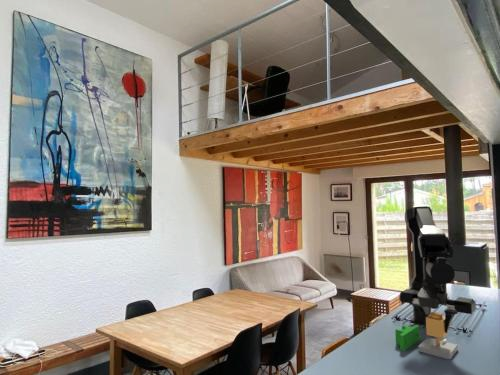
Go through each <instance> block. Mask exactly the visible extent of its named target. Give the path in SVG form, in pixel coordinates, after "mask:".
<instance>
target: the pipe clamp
mask: <svg viewBox="0 0 500 375" xmlns="http://www.w3.org/2000/svg"><path fill="white" fill-rule="evenodd" d="M394 333H395V344H396V346H399V350H400V351H403V352H405V351H406V350H408V349H409V348H410V347H412V346H413V345H415V344H416V343H418V342H419V341H420V340H421V336H420V333H421V332H420V325H418V324H414V325H413V326H407V325H401V329H398V328H396V329H395V331H394Z"/></svg>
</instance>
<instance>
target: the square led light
mask: <svg viewBox="0 0 500 375" xmlns="http://www.w3.org/2000/svg"><path fill="white" fill-rule="evenodd" d="M425 328H426V329H425V330H426V335H427V336H431V337H439V338H441V339H443V340H444V339H446V337H447V336H448V335H449V331H448V332H447V333H445V316H444V315H443V313H441V312H436V311H433V312H432V311H431V314H430V315H429V316H427V317H426V325H425Z"/></svg>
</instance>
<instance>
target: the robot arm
mask: <svg viewBox="0 0 500 375" xmlns="http://www.w3.org/2000/svg"><path fill="white" fill-rule="evenodd" d="M404 221H405V223H406V227H407V228H408V230H409V232H410V233H411V234H412V235H411V237H412V256H413V272H414V275H413V277H412V278H411V279H410V281H409V287H408V288H406V289H404V290H402V291H401V292H400V293H399V298H398V299H399V302H402V303H407V304H409V305H410V306H411V305H412V310H413V311H412V313H413V314H412V316H413V317H412V318H410V320H409V321H410V322H411V323H417V324H421V325H424V326H426V317H427V316H429V315H430V314H431V312H432V309H433V310H436V309H438V308H439V305H442V306H446V309H445V310H444V315H445V333H447V332H448V333H449V330H450V326H451V323H452V321H453V318H454V316H455V315H458V314H459V313H461V314H468V315H472V314H474V312H475V311H476V309H477V306H476V301H475V300H474V298H469V297H462V296H458V297H457V298H456V299H452V298H448V297H449V295H448V291H447V285H448V284H449V283H451V282H452V281H453V280H454V279H455V277H456V276H455V275H456V272H455V270H454V267H453V266H452V265H451V264H449V263H448V261H447V259H453V255H454V249H453V246H452V242H451V240H450V238H449V237H448V236H447V235H446V233H445V231H444V230H443V229H442V228H439V227H438V226H437V225H436V223H435V221H434V218H433V210H432V209H431V206H430V205H427V204H423V205H422V204H421V205H419V204H418V205H415V206H414V205H413V206H412V207H411V208H409V209H406V210H405V212H404Z"/></svg>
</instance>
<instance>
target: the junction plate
mask: <svg viewBox="0 0 500 375" xmlns="http://www.w3.org/2000/svg"><path fill="white" fill-rule="evenodd" d="M434 337H435V336H434ZM441 339H442V338H439V337H435V338H430V337H426V338H425V339H424V340H423V341H422V342H421V343H420V344H419V345H418V352H420V353H424V354H426V355H427V354H428V355H431V356H435V357H439V358H442V359H445V360H452V358H453V356H455V355H456V353H457V352H458V351H459V347H458V344H457V343H456V344H455V343H451V342H448V340H447V339H446V338H444V339H443V340H441Z"/></svg>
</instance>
